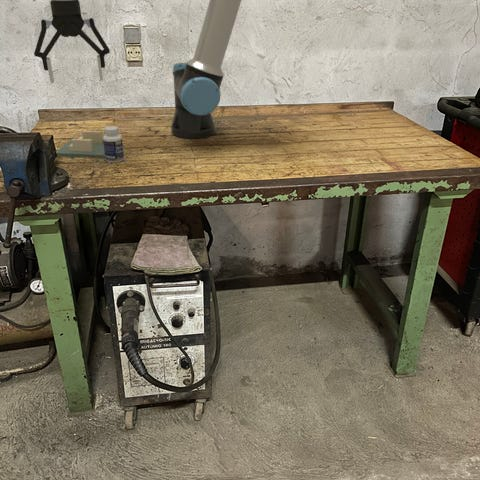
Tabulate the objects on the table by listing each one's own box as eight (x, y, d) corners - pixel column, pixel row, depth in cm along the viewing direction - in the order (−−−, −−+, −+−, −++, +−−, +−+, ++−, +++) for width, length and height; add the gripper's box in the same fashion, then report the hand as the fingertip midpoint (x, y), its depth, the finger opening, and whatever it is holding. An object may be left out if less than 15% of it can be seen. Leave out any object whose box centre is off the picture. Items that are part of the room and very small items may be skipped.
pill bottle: (119, 163, 145) (116, 131, 140) (102, 162, 146) (98, 129, 141) (127, 157, 150) (123, 125, 145) (110, 156, 151) (106, 124, 146)
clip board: (120, 143, 161) (119, 129, 159) (106, 158, 149) (104, 143, 147) (73, 141, 162) (71, 127, 160) (54, 156, 150) (52, 141, 148)
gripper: (111, -3, 139) (120, 76, 149) (16, -1, 133) (32, 80, 144) (112, -1, 132) (122, 81, 143) (12, 1, 127) (29, 86, 137)
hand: (77, 81), depth 143 cm, fingers open, 13 cm apart
